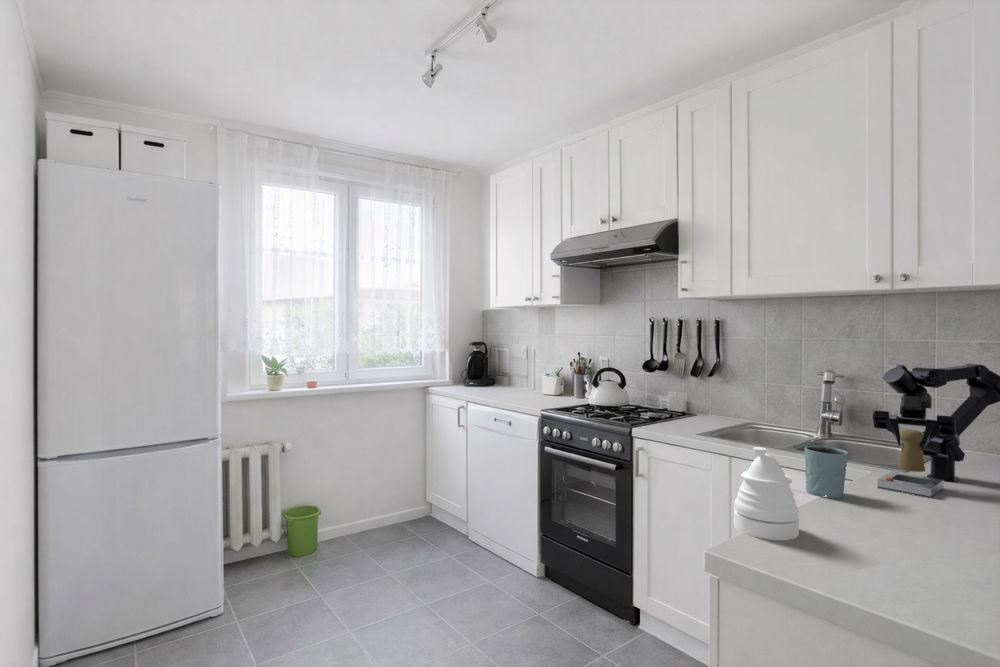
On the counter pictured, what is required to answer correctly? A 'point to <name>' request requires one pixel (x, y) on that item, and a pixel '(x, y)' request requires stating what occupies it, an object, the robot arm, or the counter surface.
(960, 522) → the counter surface
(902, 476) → the socket plate
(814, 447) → the teal cup
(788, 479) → the honey pot
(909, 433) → the cork
